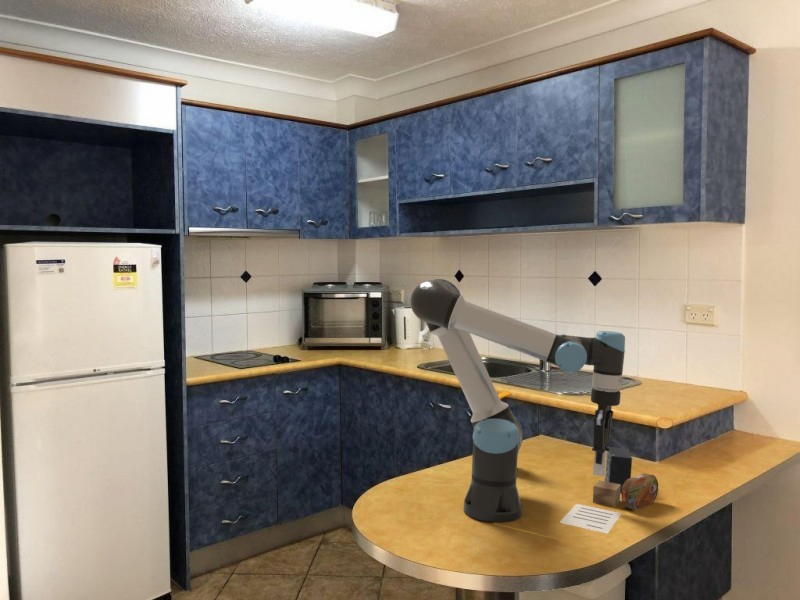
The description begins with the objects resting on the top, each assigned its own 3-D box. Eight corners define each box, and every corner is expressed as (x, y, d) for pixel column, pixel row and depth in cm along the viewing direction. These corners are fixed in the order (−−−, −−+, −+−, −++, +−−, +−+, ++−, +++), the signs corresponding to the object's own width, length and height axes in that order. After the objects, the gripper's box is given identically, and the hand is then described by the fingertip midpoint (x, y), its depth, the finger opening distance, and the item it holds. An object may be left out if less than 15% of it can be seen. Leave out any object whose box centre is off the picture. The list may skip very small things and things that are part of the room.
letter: (559, 523, 168) (559, 522, 168) (576, 504, 182) (576, 503, 182) (607, 534, 162) (607, 533, 162) (621, 514, 176) (621, 513, 176)
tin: (628, 513, 177) (630, 482, 176) (618, 509, 179) (619, 479, 178) (658, 502, 186) (660, 472, 186) (648, 498, 188) (649, 469, 188)
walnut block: (592, 503, 183) (593, 485, 183) (598, 497, 188) (599, 480, 188) (614, 508, 180) (615, 490, 180) (619, 502, 185) (620, 484, 185)
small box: (631, 493, 193) (633, 457, 192) (607, 490, 194) (609, 455, 193) (626, 481, 203) (628, 447, 202) (604, 479, 204) (606, 446, 204)
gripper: (615, 394, 170) (607, 484, 172) (625, 387, 182) (617, 471, 183) (586, 390, 174) (578, 477, 176) (597, 383, 185) (590, 465, 187)
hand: (598, 474), depth 180 cm, fingers closed
